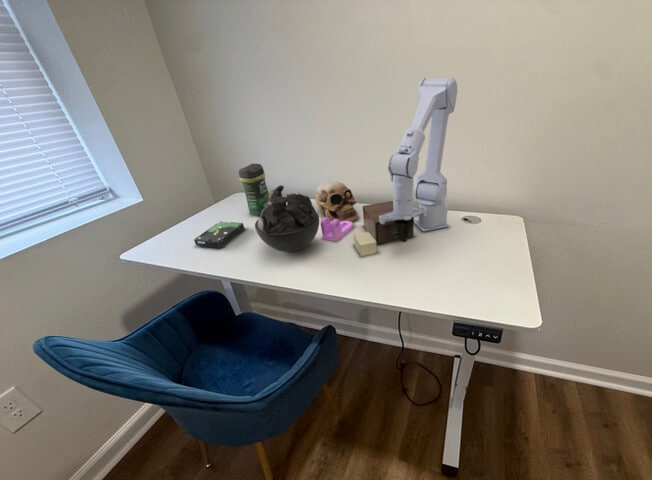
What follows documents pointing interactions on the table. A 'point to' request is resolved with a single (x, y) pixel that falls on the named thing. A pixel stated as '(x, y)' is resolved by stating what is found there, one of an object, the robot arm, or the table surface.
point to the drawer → (389, 232)
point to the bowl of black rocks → (287, 221)
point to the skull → (336, 201)
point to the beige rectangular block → (365, 244)
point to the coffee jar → (254, 187)
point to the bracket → (334, 228)
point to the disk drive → (219, 234)
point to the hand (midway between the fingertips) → (403, 240)
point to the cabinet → (376, 217)
